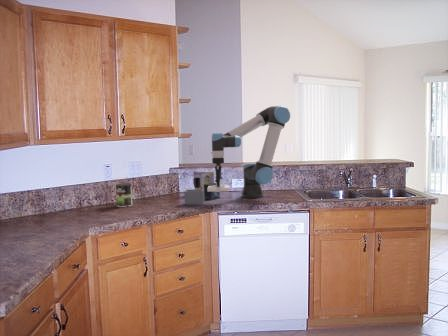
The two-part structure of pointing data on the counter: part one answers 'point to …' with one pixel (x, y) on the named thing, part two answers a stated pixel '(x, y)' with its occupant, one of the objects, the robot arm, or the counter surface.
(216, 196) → the small box
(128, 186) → the multicoloured piece
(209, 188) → the lid
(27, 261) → the counter surface
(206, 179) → the cake pan box
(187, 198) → the tub
